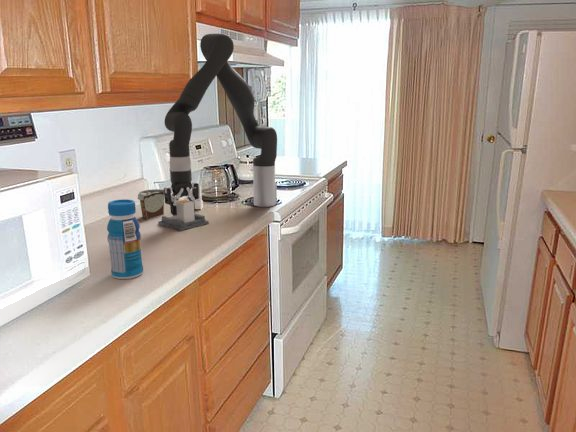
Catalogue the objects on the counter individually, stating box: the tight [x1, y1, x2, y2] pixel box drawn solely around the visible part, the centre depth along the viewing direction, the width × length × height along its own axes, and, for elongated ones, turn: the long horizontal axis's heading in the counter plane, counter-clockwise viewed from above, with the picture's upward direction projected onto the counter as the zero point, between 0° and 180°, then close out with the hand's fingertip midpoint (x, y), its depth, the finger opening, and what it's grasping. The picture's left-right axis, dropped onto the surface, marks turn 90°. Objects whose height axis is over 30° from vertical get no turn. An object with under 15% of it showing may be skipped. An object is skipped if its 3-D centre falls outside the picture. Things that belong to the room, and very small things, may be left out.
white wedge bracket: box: [186, 185, 204, 210], centre depth 202 cm, size 4×10×9 cm, turn 84°
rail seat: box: [157, 212, 210, 232], centre depth 179 cm, size 13×13×3 cm
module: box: [172, 198, 195, 223], centre depth 179 cm, size 4×7×7 cm, turn 49°
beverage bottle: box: [106, 198, 144, 280], centre depth 128 cm, size 8×8×20 cm
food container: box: [137, 188, 165, 221], centre depth 189 cm, size 12×6×10 cm, turn 152°
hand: (183, 213), depth 179 cm, fingers open, 7 cm apart
